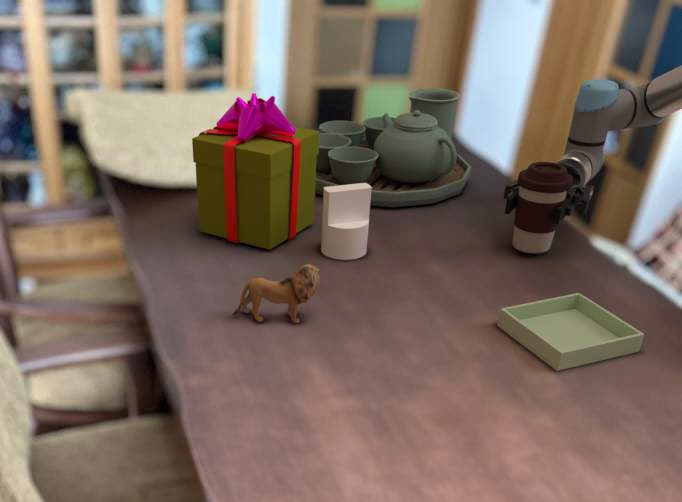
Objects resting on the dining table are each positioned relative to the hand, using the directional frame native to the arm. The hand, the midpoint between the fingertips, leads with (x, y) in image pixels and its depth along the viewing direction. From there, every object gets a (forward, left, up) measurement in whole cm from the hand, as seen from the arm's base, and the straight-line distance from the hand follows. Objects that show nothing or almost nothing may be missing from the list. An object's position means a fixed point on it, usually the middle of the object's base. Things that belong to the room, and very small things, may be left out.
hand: (532, 211), depth 153 cm
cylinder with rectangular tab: (+17, +30, -9) cm, 36 cm away
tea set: (+51, +3, -9) cm, 52 cm away
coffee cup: (+3, -4, -9) cm, 10 cm away
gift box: (+33, +42, -9) cm, 54 cm away
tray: (-29, +12, -9) cm, 33 cm away
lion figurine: (-4, +53, -9) cm, 54 cm away
